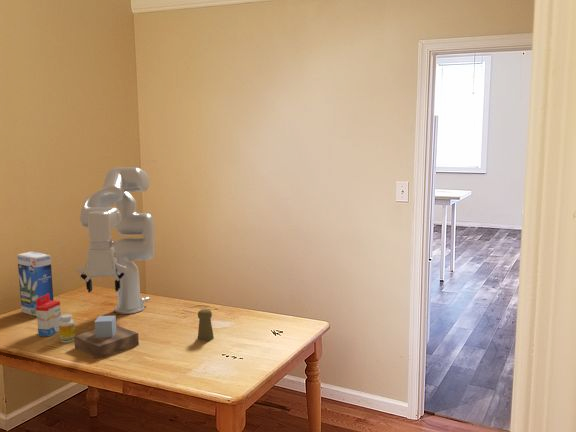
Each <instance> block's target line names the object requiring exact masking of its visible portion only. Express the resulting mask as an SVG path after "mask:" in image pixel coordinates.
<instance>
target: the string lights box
mask: <svg viewBox="0 0 576 432" xmlns="http://www.w3.org/2000/svg"><path fill="white" fill-rule="evenodd" d="M51 256H52V255H51V254H45V253H42V252H35V251H28V252H23V253H19V254H16V257H17V267H18V269H17V271H18V282H19V293H20V309H21V313H23V314H27V315H31V316H35V317H37V311H36V299H38V298H40V297H42V296H44V295H46V294H48V293H49V300H51V301H54V289H53V275H52V259H51ZM43 300H45V298H43V299H42V300H41V301H43Z"/></svg>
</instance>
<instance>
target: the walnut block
mask: <svg viewBox="0 0 576 432" xmlns="http://www.w3.org/2000/svg"><path fill="white" fill-rule="evenodd" d="M136 346H140V341H139V333H138V332H136V331H133V330H130V329H127V328H125V327H122V326H119V325H116V333H115V334H114V336H113V337H103V338H96V336H95V329H92V330H90V331H86V332H83V333H79V334H77V335H76V334H75V336H74V348H75V349H76V350H78V349H79V350H78V351H81V352H83V351H84V353H85V352H86V353H85V354H88V355H91V356H93V357H95V358H97V359H99V360H101V359H103V358H106V357H107V358H108V357H110V356H112V355H114V354H115V355H116V354H118V353H121V352H123V351H126V350H130V349H132V348H134V347H136Z"/></svg>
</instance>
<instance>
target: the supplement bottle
mask: <svg viewBox="0 0 576 432" xmlns="http://www.w3.org/2000/svg"><path fill="white" fill-rule="evenodd" d="M60 320H61V321H60V322H59V331H58V332H59V341H60V342H61V343H63V344H64V343H71V342H75V340H74V336H76V334H75V321H74V320H73V315H72V313H71V314H70V313H67V314H65V313H64V314H61V316H60Z"/></svg>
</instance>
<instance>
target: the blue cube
mask: <svg viewBox="0 0 576 432" xmlns="http://www.w3.org/2000/svg"><path fill="white" fill-rule="evenodd" d="M116 326H117V316H116V315H99V316H98V317H96V319H95V320H94V330H95V336H96V338H103V337H113V336H114V334H115V333H116Z"/></svg>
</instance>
